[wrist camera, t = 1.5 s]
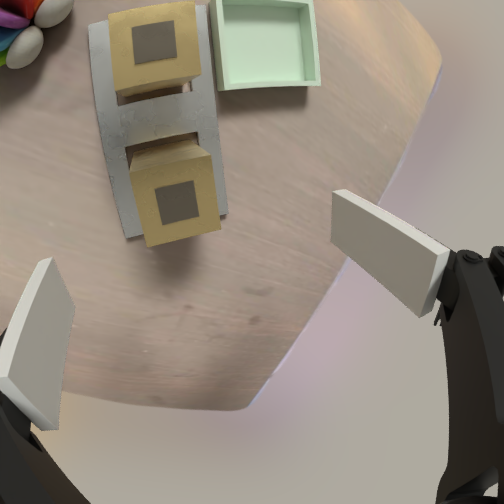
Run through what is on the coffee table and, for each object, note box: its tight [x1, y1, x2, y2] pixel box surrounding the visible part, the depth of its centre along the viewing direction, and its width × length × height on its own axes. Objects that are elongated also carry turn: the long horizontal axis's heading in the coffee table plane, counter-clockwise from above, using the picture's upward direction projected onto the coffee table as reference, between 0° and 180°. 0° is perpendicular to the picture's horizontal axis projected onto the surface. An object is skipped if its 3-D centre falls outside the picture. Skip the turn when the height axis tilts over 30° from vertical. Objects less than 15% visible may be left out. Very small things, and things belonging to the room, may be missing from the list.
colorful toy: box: [0, 0, 74, 69], centre depth 10 cm, size 8×10×7 cm
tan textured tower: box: [108, 1, 202, 97], centre depth 16 cm, size 5×5×9 cm
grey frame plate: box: [88, 5, 229, 238], centre depth 22 cm, size 10×20×1 cm, turn 5°
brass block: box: [129, 139, 221, 248], centre depth 21 cm, size 5×5×9 cm
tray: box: [209, 0, 321, 91], centre depth 21 cm, size 9×9×2 cm
